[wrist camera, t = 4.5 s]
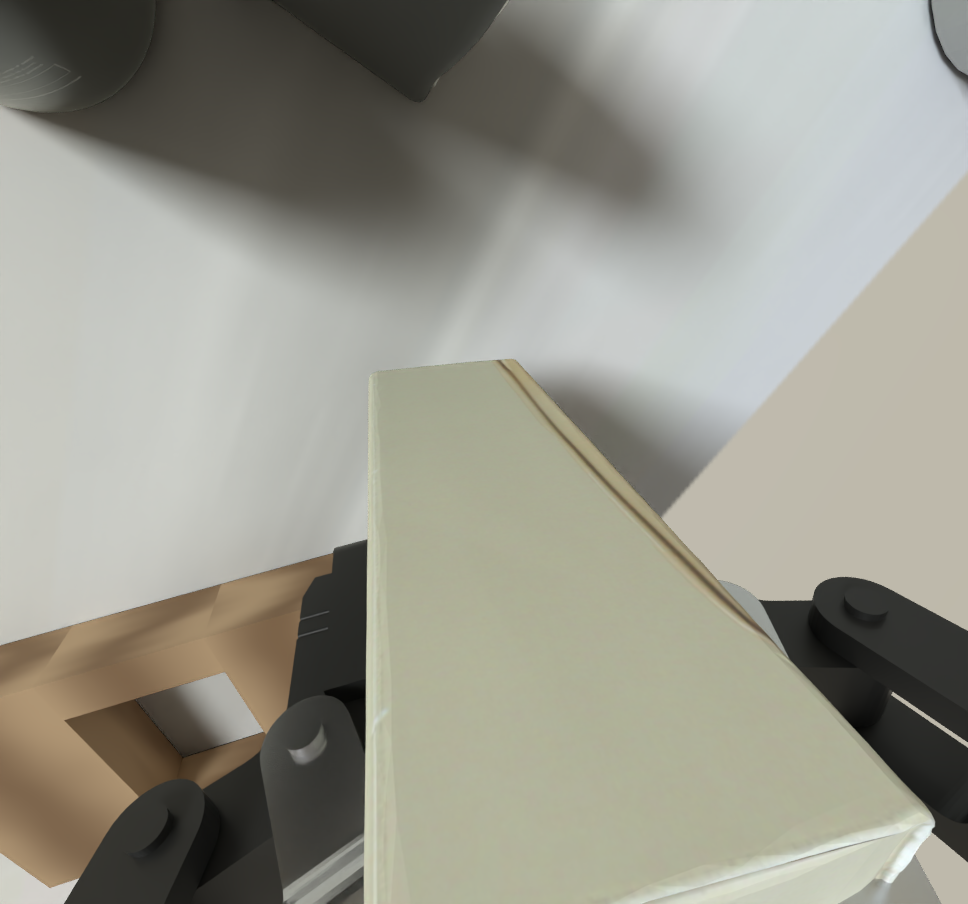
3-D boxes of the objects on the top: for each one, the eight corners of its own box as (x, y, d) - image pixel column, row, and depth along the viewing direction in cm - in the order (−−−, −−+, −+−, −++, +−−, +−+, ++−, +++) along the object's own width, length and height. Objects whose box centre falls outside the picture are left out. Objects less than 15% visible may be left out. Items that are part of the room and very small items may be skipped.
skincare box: (516, 525, 17) (771, 1066, 6) (386, 547, 16) (439, 1202, 6) (515, 347, 14) (991, 821, 3) (356, 363, 13) (348, 1042, 3)
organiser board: (358, 545, 22) (360, 592, 19) (418, 707, 28) (425, 759, 25) (-88, 669, 20) (-155, 742, 17) (80, 817, 25) (49, 888, 23)
